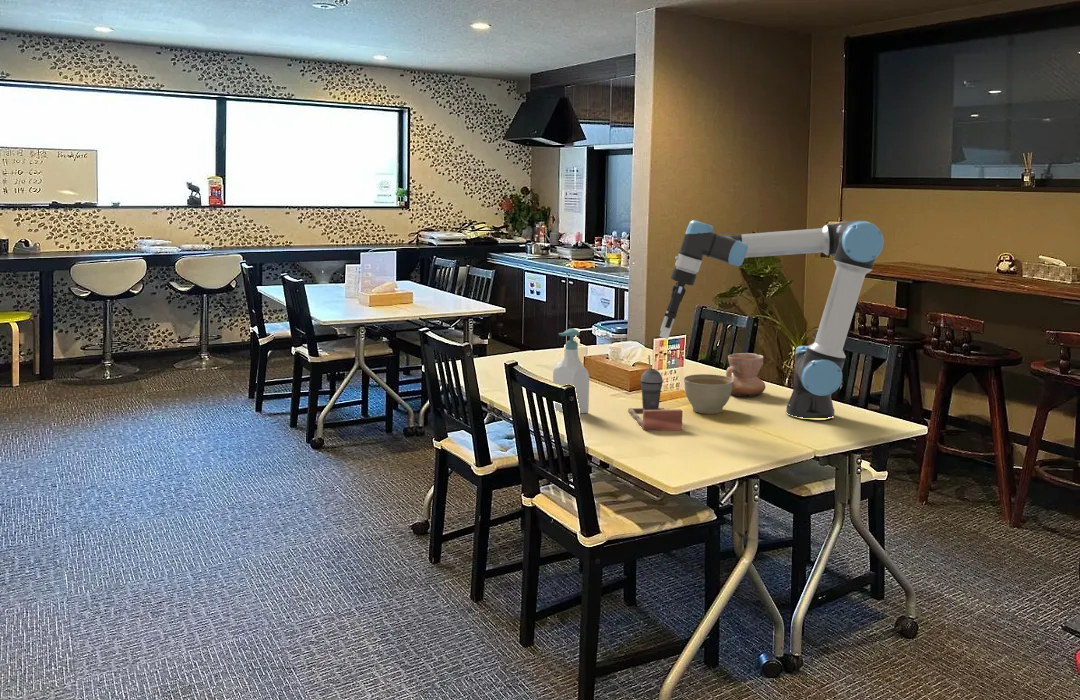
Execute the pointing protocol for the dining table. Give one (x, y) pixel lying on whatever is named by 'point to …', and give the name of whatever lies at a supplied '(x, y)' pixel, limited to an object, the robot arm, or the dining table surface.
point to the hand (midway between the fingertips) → (663, 334)
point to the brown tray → (658, 418)
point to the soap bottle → (573, 372)
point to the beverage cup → (651, 388)
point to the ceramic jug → (745, 374)
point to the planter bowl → (708, 392)
